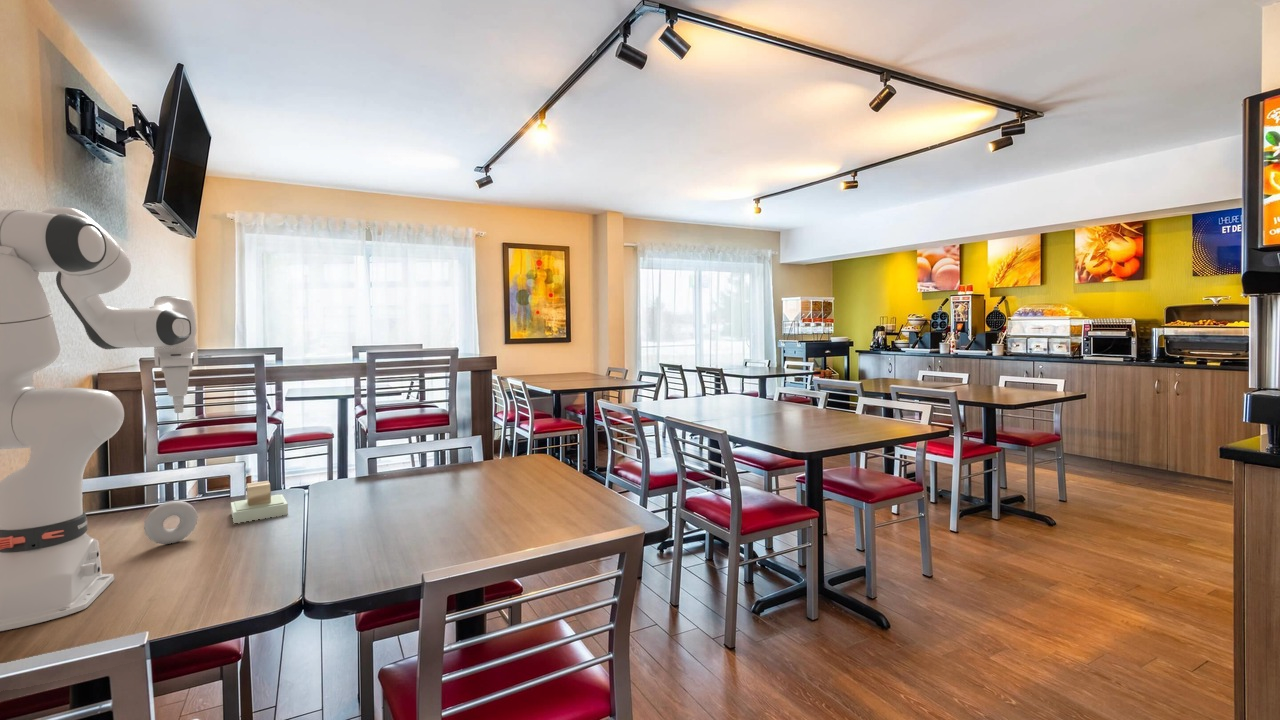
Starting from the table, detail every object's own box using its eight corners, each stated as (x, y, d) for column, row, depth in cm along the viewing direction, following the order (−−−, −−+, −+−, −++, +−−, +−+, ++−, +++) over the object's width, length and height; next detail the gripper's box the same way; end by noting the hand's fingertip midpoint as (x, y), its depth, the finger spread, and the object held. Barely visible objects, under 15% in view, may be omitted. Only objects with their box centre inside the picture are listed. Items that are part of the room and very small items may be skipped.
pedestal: (288, 514, 152) (287, 502, 152) (233, 524, 145) (233, 511, 145) (282, 504, 162) (282, 493, 161) (231, 513, 154) (230, 501, 154)
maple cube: (270, 502, 153) (270, 484, 152) (248, 505, 149) (247, 487, 149) (268, 498, 156) (268, 480, 156) (247, 501, 153) (246, 483, 153)
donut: (148, 551, 127) (145, 508, 126) (142, 548, 129) (140, 505, 128) (201, 538, 135) (199, 497, 135) (195, 535, 137) (193, 495, 136)
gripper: (162, 358, 154) (165, 408, 154) (159, 360, 138) (162, 416, 138) (191, 357, 158) (194, 406, 158) (192, 359, 142) (194, 413, 142)
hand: (179, 411), depth 148 cm, fingers open, 8 cm apart
